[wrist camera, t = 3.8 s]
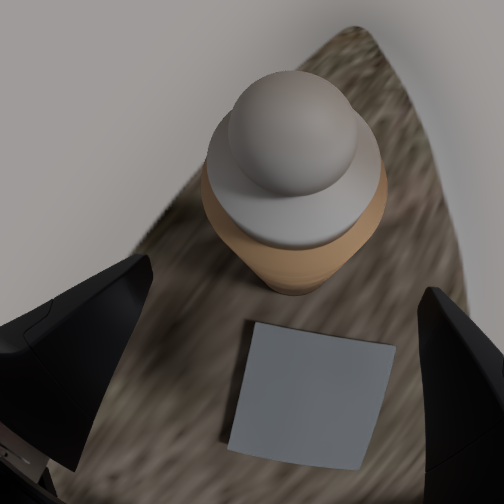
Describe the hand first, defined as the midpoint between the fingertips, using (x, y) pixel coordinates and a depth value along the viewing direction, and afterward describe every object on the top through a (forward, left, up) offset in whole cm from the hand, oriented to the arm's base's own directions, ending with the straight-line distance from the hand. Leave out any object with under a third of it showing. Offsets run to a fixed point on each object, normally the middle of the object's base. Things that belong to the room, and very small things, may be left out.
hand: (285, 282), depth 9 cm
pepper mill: (+3, 0, -10) cm, 10 cm away
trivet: (-6, -3, -10) cm, 12 cm away
